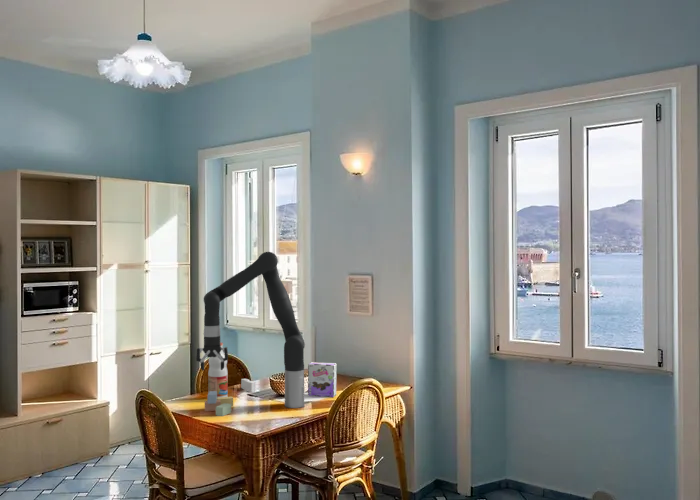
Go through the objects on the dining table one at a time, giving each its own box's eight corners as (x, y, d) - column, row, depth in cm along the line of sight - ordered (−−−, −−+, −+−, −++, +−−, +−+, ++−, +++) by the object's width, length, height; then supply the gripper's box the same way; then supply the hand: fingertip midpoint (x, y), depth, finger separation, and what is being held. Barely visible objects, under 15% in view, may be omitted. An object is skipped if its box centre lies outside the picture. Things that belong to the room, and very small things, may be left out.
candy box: (307, 395, 314) (307, 363, 314) (311, 393, 320) (311, 361, 320) (333, 397, 311) (333, 364, 311) (336, 394, 317) (336, 362, 317)
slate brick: (209, 399, 290) (209, 391, 290) (217, 399, 291) (217, 391, 291) (207, 403, 283) (207, 394, 283) (215, 403, 284) (215, 394, 284)
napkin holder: (258, 393, 321) (258, 382, 321) (236, 394, 320) (236, 382, 320) (260, 387, 336) (260, 376, 336) (239, 387, 335) (239, 376, 335)
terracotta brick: (220, 408, 290) (220, 400, 290) (220, 410, 286) (220, 401, 286) (204, 409, 288) (204, 400, 288) (204, 411, 285) (204, 402, 285)
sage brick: (224, 411, 284) (224, 403, 284) (231, 412, 283) (231, 403, 283) (215, 415, 277) (215, 406, 277) (222, 416, 276) (222, 407, 276)
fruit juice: (211, 396, 312) (211, 341, 312) (229, 397, 311) (229, 341, 311) (205, 401, 303) (205, 344, 303) (224, 401, 302) (224, 344, 302)
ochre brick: (231, 404, 297) (231, 396, 297) (233, 406, 294) (233, 398, 294) (216, 406, 295) (216, 397, 295) (217, 407, 291) (217, 399, 291)
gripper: (228, 333, 291) (228, 368, 291) (197, 334, 290) (198, 368, 290) (226, 335, 284) (227, 371, 284) (195, 336, 283) (195, 372, 283)
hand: (212, 369), depth 287 cm, fingers open, 8 cm apart
